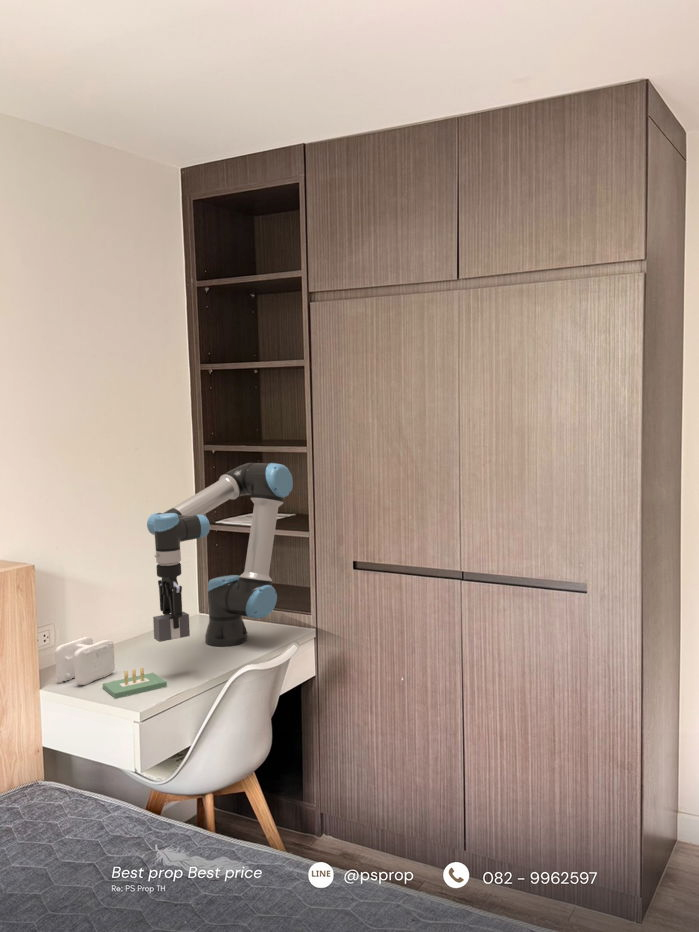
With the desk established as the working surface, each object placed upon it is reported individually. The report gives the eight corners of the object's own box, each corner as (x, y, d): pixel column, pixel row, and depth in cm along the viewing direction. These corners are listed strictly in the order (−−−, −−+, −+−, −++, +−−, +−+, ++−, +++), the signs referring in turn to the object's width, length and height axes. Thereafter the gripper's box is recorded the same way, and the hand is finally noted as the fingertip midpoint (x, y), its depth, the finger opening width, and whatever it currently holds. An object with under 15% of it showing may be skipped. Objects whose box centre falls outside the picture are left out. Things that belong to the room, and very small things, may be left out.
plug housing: (184, 633, 269) (183, 611, 269) (189, 636, 266) (188, 614, 265) (154, 638, 264) (153, 616, 263) (159, 641, 260) (158, 619, 260)
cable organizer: (93, 669, 274) (91, 634, 273) (116, 674, 269) (114, 638, 268) (56, 683, 262) (54, 647, 261) (80, 688, 256) (78, 651, 255)
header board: (153, 677, 265) (152, 660, 264) (166, 686, 256) (165, 668, 255) (102, 688, 256) (101, 670, 255) (115, 698, 247) (114, 680, 246)
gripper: (146, 560, 268) (150, 632, 270) (168, 569, 254) (172, 645, 255) (169, 557, 272) (172, 628, 274) (191, 565, 258) (195, 640, 260)
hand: (172, 636), depth 265 cm, fingers closed on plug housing, 4 cm apart
